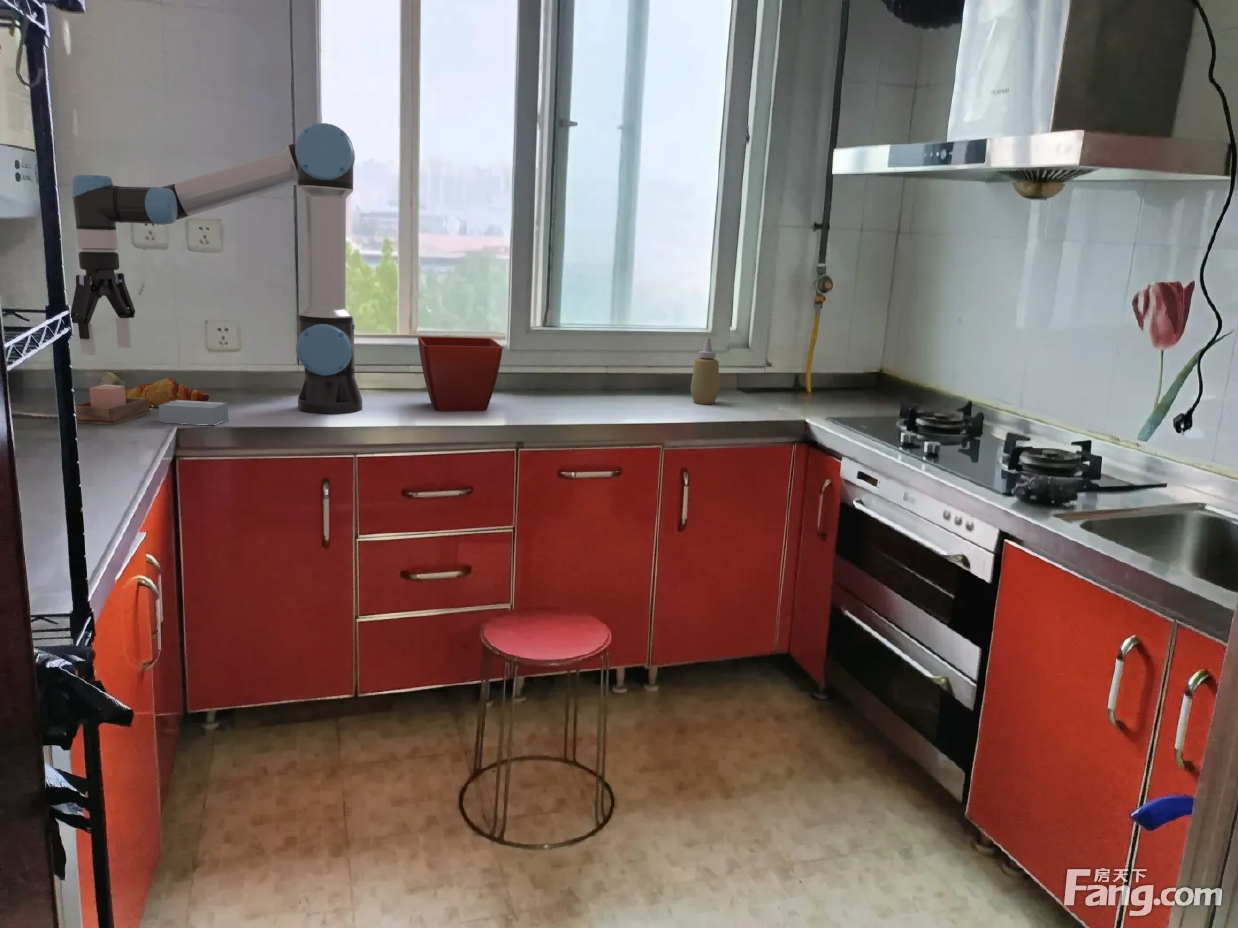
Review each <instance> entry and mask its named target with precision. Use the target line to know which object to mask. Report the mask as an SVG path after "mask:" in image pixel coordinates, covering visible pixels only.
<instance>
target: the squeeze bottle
mask: <svg viewBox="0 0 1238 928" xmlns="http://www.w3.org/2000/svg"><path fill="white" fill-rule="evenodd" d="M711 340H712V339H711V338H705V342H704V346H703V348H702V350H699V351H698V357H699V358H697V359H695V360H694V364H693V372H692V377H691V384H690V392H691V397H692V400H693V401H692V402H694V403H696V404H700V405H712V404H715V403H716V400H717V398H718V395H719V392H720V371H719V370H720V369H719V363H720V362H719V361H718V359H716V355H717V354H716V353H717V352H716V351H713V346H712V341H711Z"/></svg>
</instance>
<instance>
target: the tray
mask: <svg viewBox="0 0 1238 928" xmlns="http://www.w3.org/2000/svg"><path fill="white" fill-rule="evenodd" d="M75 405H76V412H77V424H89V425H91V424H92V425H93V424H94V425H108V426H109V425H111V426H115V425H119V424H121V423H125V422H128V421H131V419H132V420H135V419H137V418H136V417H138V416H141V415H143V414H146V413H151V412H150V411H151V410H150V407H149V399H142V398H126V404H124V405H121V406H117V407H114V408H100V407H91V403H90V400H88V401H87V400H86V401H84V402H80V403H76V404H75ZM141 417H142V416H141ZM134 418H135V419H134ZM138 418H139V417H138ZM124 421H125V422H124Z"/></svg>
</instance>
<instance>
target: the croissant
mask: <svg viewBox="0 0 1238 928" xmlns="http://www.w3.org/2000/svg"><path fill="white" fill-rule="evenodd" d="M125 397H126V398H142V399H149V405H153V406H159V405H160V404H162V403H166V402H170V401H173V400H186V401H203V402H209V400H210V394H209V393H207V392H201V391H200V390H198V389H191V388H189V387H188V386H187V385H185V384H181V383H178V381H176V380H175V379H172V378H163V379H159V380H156V381H155V382H154V383H152V382H151V383H150V382H148V383H142V384H139V385H138V386H136V387H133V388H126V389H125Z"/></svg>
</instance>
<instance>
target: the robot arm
mask: <svg viewBox="0 0 1238 928" xmlns="http://www.w3.org/2000/svg"><path fill="white" fill-rule="evenodd" d="M355 155H356V154H355V150H354V145H353V142H352V141H351V138H350V136H348V134H347V133H346V132H345V131H344V130H343V129H341V128H340V127H338V126H336V125H335V124H332V123H327V122H321V123H320V122H319V123H313V124H312V125H309V126H307V127H306V128H304V129H303V130H302V131H301V132H300V133H299V136H298V138H297V139H296V142H295V143H292V144H291V143H290V144H288V145H286V147H285V150H283V151H281V152H277V153H274V154H271V155H267V156H265V157H264V156H263V157H260V158H257V159H253V160H251V161H246V162H243V163H240V164H236V165H233V166H229V167H227V168H223V169H219V170H216V171H213V172H209V173H205V174H203V175H199V176H196V177H193V178H188V179H186V180H183V181H178V182H175V183H172V184H167V185H164V186H162V187H161V186H160V187H159V186H152V187H151V186H120V185H114V183H113V179H112V177H110V176H108V175H96V174H76V175H74V176H73V178H72V201H73V209H74V219H75V229H76V239H77V248H78V249H79V250H81V251H79V253H78V262H79V265H78V266H79V269H81V270H84V271H85V274H76V276H75V289H74V295H73V299H72V300H73V301H72V306H71V308H70V309H71V310H70V314H71V318H72V321H71V322H72V323H73V324H77V326H78V337H79V344H80V354H81V355H86V356H96V355H97V353H96V341H95V340H96V339H95V329H94V323H91V320H92V318H93V315H94V313H95V311H96V310H95V309H96V307H97V305H98V302H99V299H101V298H103V296H105V297H106V299H107V300H108V302H109V304H110V306H111V307H112V309H113V310H114V312H115V313H116V316H117V317H115V327H116V338H117V347H118V348H122V349H124V348H126V349H132V348H133V347H132V345H133V344H132V335H131V324H130V318H131V319H133V318H135V315H136V309H135V306H134V304H133V301H132V298H131V296H130V293H129V291H128V287H127V285H126V282H125V281H126V280H125V275H124V273H123V272H115V271H118V270H120V257H119V253H118V252H116V251H117V250H118V249H119V244H118V236H117V235H118V234H117V226H116V225H117V223H121V224H124V223H126V224H142V225H143V224H144V225H145V224H147V225H149V224H150V225H157V226H158V225H160V226H161V225H172V224H174V223H176V221H178V220H181V219H185V218H187V217H190V216H195V215H197V214H201V213H204V212H208V211H210V210H214V209H217V208H221V207H222V208H223V207H224V206H228V205H231V204H235V203H239V202H242V201H244V200H245V201H246V200H249V199H251V198H255V197H258V196H262V195H266V194H269V193H271V192H275V191H279V190H283V189H285V188H289V187H292V186H296V185H297V187H298V189H300V191H301V192H302V193H303V194H304V197H305V198H304V204H305V206H304V213H305V214H304V215H305V217H304V220H305V221H304V222H305V224H304V225H305V229H304V231H305V232H304V235H305V237H304V239H305V254H304V255H305V306H304V307H303V308H302V309H301V310H300V311H299V312H298V339H297V341H296V345H295V347H296V351H295V352H296V355H297V357H298V360H299V361H300V363H301V364H302V366H303V367H304V377H303V381H302V385H301V388H300V392H299V395H298V398H297V409H298V410H299V411H303V412H308V413H315V414H316V413H318V414H341V413H343V414H345V413H352V412H358V411H360V410H362V409H363V397H362V395H361V393H360V392H361V391H360V389H359V386H358V383H357V379H356V377H355V376H356V374H355V372H356V371H355V323H354V322H355V321H354V317H353V314H352V313H351V312H350V311H349V310H348V309H347V306H346V278H347V277H346V274H347V273H346V265H347V262H346V261H347V259H346V258H347V257H346V256H347V255H346V254H347V253H346V252H347V250H346V249H347V248H346V247H347V246H346V245H347V244H346V243H347V241H346V240H347V239H346V237H347V236H346V235H347V234H346V233H347V232H346V231H347V230H346V229H347V223H346V222H347V198H348V197H349V196H350V195H351V194H352V193H353V192H354V165H355V160H356V159H355V158H356V156H355Z"/></svg>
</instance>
